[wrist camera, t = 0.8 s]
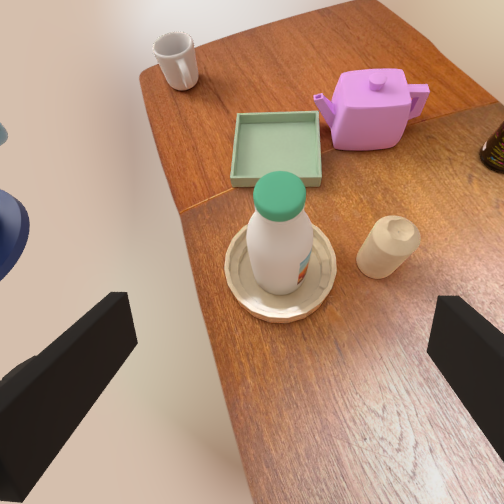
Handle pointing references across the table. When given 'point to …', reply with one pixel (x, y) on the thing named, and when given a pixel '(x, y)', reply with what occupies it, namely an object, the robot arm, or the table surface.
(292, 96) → the table surface
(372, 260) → the candle
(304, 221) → the milk bottle
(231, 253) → the bowl
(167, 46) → the cup
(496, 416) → the robot arm
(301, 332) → the table surface
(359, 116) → the teapot
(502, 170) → the supplement container
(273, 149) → the tray
